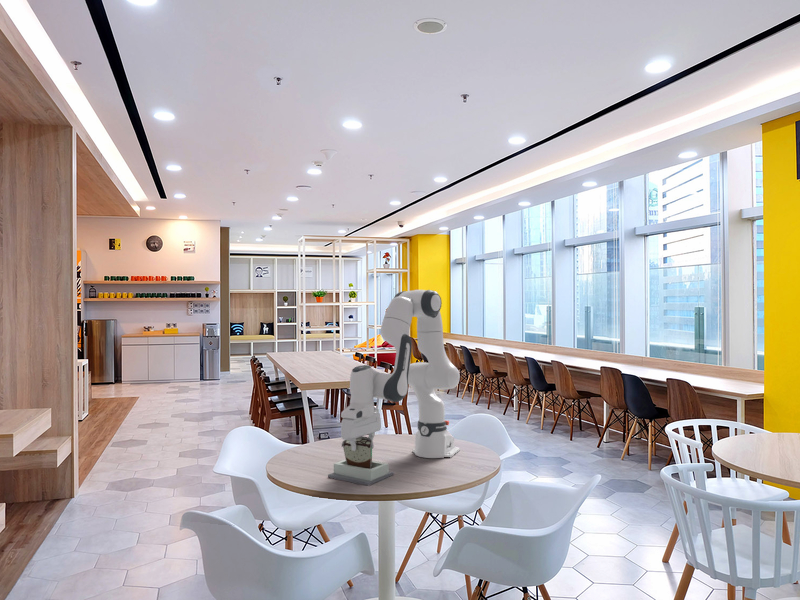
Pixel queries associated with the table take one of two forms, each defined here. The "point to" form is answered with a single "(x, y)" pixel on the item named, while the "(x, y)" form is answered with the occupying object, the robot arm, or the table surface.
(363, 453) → the food container
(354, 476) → the tray
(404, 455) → the table surface
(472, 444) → the table surface
